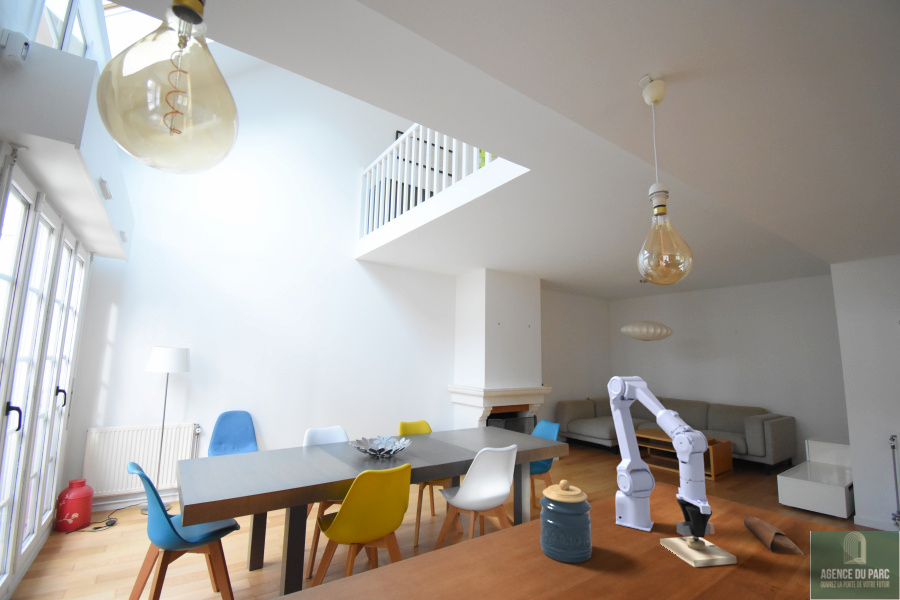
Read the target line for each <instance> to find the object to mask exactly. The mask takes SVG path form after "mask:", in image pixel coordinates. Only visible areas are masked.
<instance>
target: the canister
mask: <svg viewBox="0 0 900 600" xmlns="http://www.w3.org/2000/svg"><path fill="white" fill-rule="evenodd" d="M542 494H543V496H541V498H540V499H539V504H540V505H541V511H540V512H539V517H540V536H539V539H540V541H539V542H540V543H539V544H540V546H541V547H540V548H541V552H542V553H543V554H545V555H546V556H547V557H549V558H550V559H553V560H556V561H558V562H564V563H568V564H569V563H572V564H576V563H583V562H586V561H588V560H590V559H591V558H592V553H593V544H592V525H591V524H592V518H591V517H590V511H591V509H592V506H591V504H590V503H589V501H587V500H588V495H587V493H585V492H584V491H582V489H580V488H579V487H577V486H574V485H571V484H570V482H569V481H568V480H567V479H561V480H560V481H559V484H557V483H556V484H552V485H549V486H548V487H546V488H544V489H543V490H542Z"/></svg>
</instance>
